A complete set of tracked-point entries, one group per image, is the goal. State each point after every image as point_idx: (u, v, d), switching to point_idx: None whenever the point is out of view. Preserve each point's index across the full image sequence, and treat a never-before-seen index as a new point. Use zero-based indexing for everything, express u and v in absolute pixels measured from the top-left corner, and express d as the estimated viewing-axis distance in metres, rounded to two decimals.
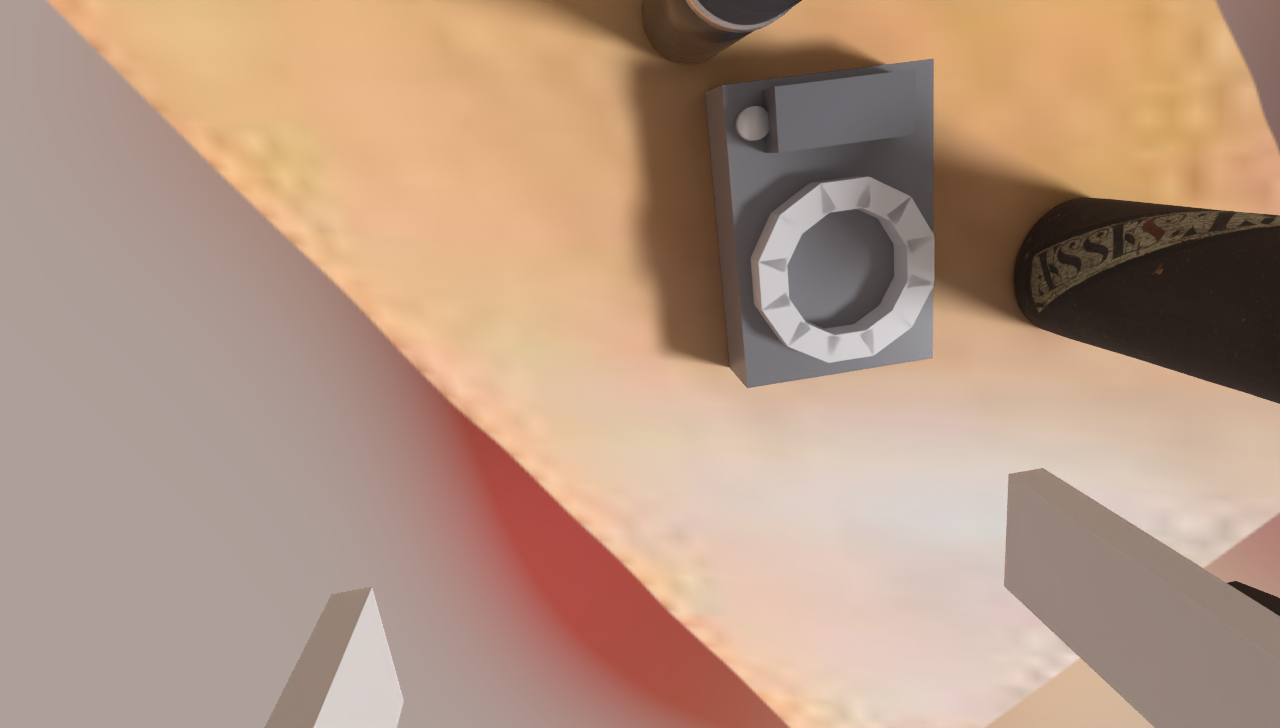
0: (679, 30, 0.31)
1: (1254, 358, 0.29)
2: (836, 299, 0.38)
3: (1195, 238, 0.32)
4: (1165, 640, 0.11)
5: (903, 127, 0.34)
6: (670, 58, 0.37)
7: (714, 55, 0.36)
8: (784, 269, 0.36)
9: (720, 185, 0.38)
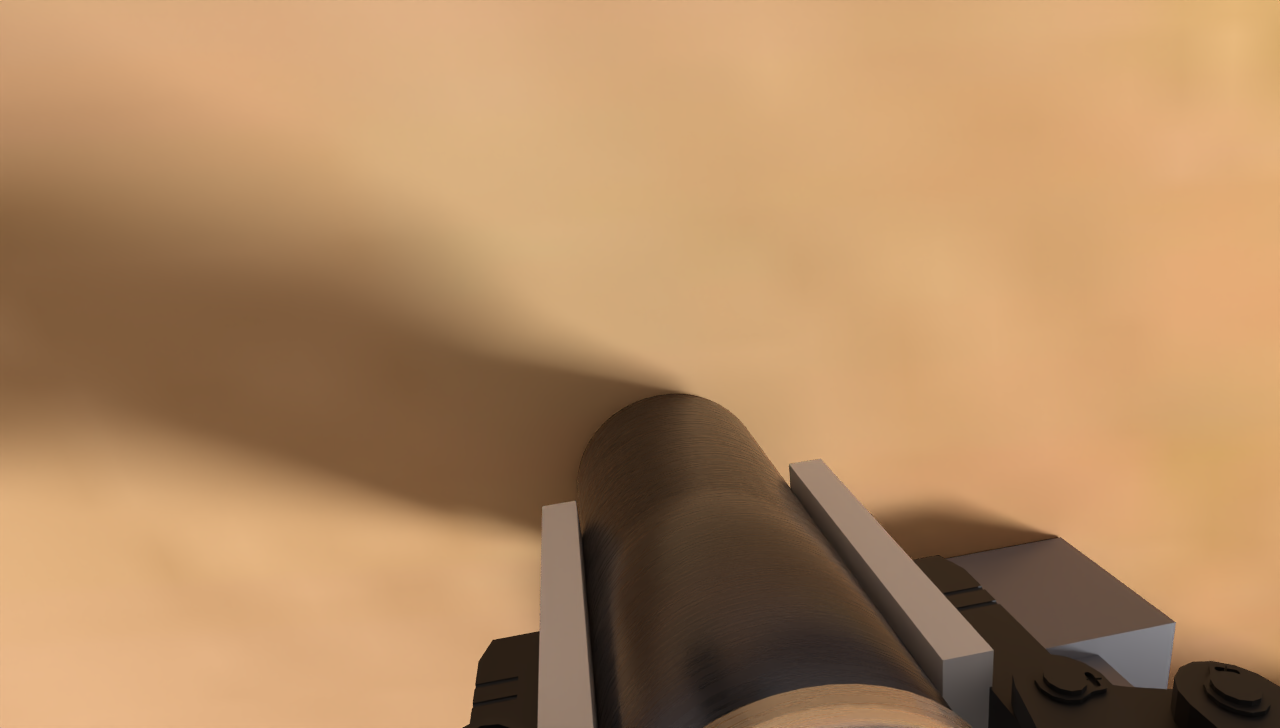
0: None
1: None
2: None
3: None
4: None
5: None
6: None
7: None
8: None
9: None
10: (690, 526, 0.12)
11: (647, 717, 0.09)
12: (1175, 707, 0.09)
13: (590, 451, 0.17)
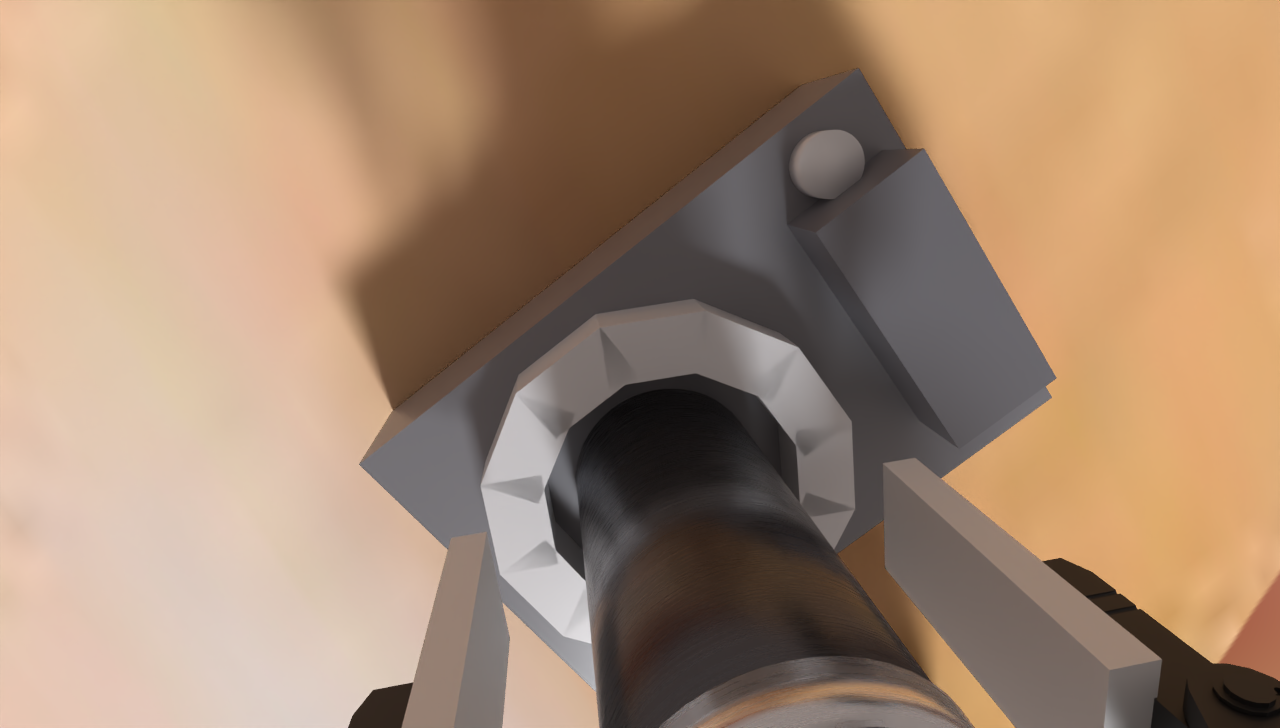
0: None
1: None
2: None
3: None
4: (988, 610, 0.12)
5: (960, 422, 0.18)
6: None
7: None
8: (616, 385, 0.17)
9: (680, 192, 0.19)
10: (685, 513, 0.12)
11: (645, 690, 0.09)
12: None
13: (588, 444, 0.18)
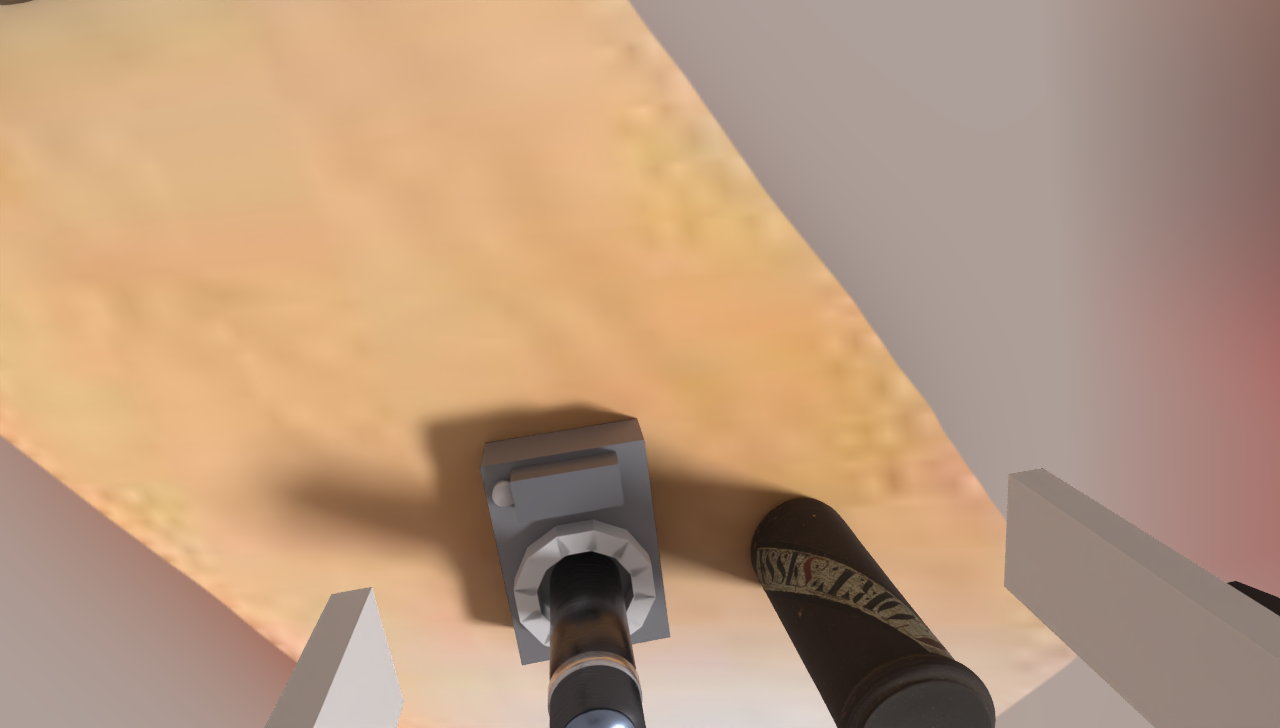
0: None
1: (830, 712, 0.40)
2: None
3: (820, 595, 0.44)
4: (1165, 640, 0.11)
5: (614, 501, 0.45)
6: None
7: None
8: (535, 594, 0.47)
9: None
10: (550, 637, 0.42)
11: None
12: None
13: None
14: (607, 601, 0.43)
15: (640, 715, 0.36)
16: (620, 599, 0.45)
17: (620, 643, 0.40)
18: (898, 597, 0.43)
